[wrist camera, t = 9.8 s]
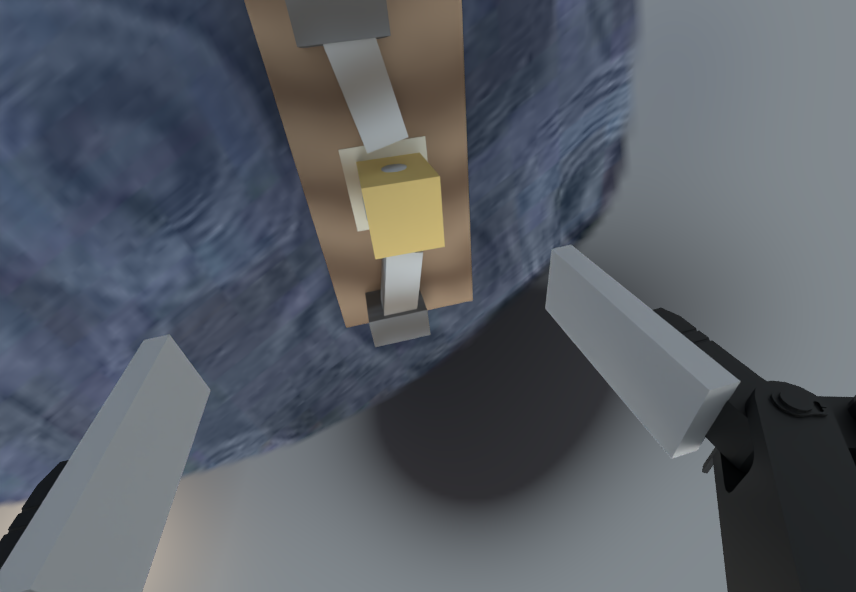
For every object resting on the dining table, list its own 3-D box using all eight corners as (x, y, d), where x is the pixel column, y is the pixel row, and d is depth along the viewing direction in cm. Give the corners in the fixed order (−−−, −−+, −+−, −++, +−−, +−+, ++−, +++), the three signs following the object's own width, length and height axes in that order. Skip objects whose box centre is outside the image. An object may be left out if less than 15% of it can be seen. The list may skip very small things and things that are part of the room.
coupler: (355, 161, 24) (360, 187, 20) (420, 151, 25) (440, 175, 20) (367, 223, 27) (374, 260, 22) (426, 213, 28) (445, 247, 23)
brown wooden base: (242, -19, 20) (214, -41, 15) (452, -40, 21) (486, -67, 16) (345, 317, 33) (347, 359, 29) (467, 291, 35) (488, 327, 30)
